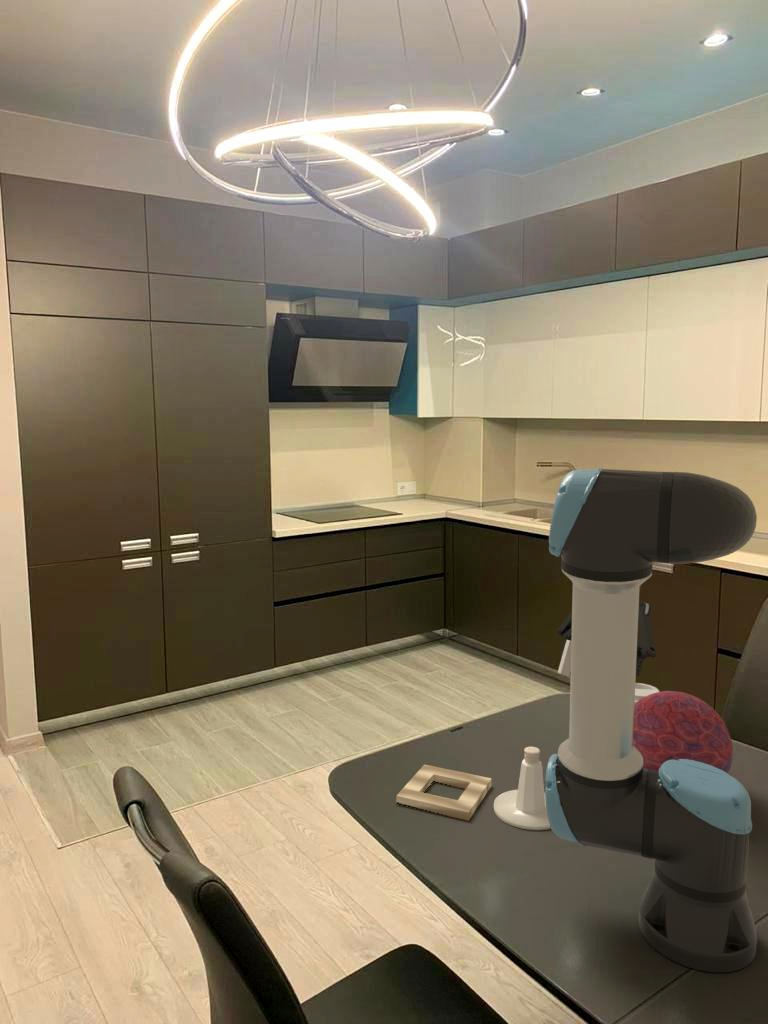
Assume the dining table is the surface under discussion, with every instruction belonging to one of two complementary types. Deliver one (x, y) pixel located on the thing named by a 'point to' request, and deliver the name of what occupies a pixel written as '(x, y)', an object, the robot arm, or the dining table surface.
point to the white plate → (519, 813)
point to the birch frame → (458, 808)
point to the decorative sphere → (680, 731)
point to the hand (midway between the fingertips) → (592, 683)
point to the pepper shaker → (531, 783)
